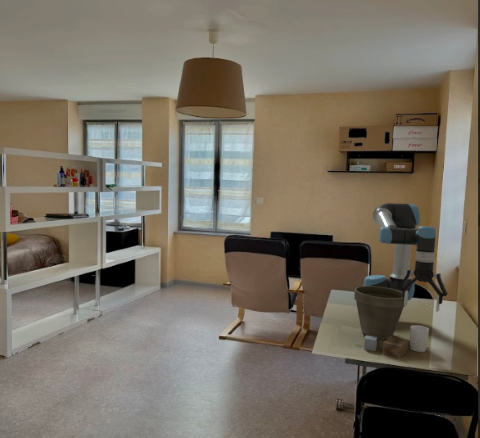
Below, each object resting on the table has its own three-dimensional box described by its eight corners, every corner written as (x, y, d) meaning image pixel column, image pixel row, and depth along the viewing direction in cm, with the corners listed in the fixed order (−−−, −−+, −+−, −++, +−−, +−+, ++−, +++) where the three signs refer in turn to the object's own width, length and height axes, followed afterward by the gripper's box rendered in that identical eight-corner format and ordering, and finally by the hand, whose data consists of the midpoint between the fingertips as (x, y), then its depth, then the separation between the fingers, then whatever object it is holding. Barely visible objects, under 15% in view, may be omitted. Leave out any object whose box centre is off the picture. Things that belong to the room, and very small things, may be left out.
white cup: (416, 353, 192) (417, 331, 191) (404, 346, 200) (406, 325, 199) (431, 352, 194) (432, 330, 193) (419, 345, 202) (421, 324, 201)
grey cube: (364, 349, 194) (364, 338, 194) (365, 346, 199) (365, 335, 198) (375, 351, 192) (376, 340, 192) (376, 347, 197) (377, 337, 197)
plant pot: (415, 339, 211) (418, 295, 209) (379, 346, 199) (382, 299, 197) (376, 324, 233) (378, 284, 231) (341, 330, 220) (343, 287, 219)
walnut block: (382, 353, 190) (383, 342, 189) (390, 346, 199) (390, 336, 198) (400, 357, 185) (400, 346, 185) (407, 350, 194) (407, 339, 194)
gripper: (393, 258, 199) (390, 304, 200) (453, 265, 184) (449, 315, 185) (398, 256, 205) (395, 301, 206) (456, 263, 190) (453, 311, 191)
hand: (421, 308), depth 196 cm, fingers open, 13 cm apart
